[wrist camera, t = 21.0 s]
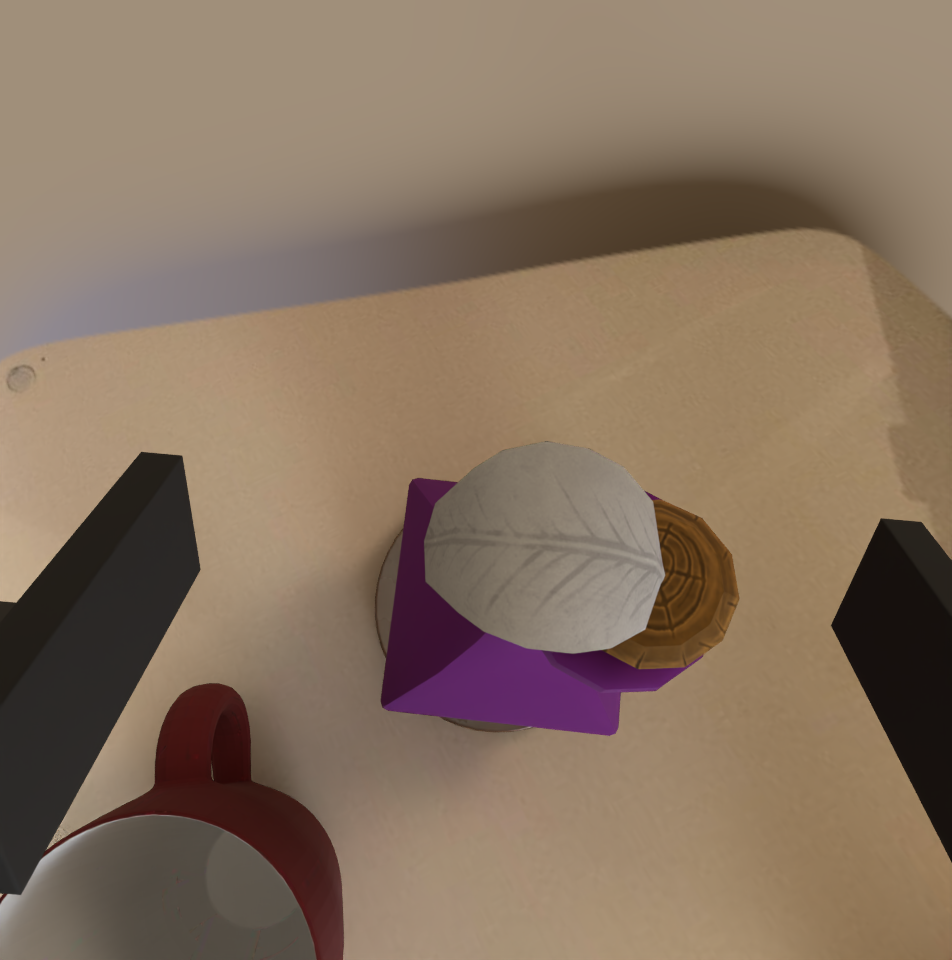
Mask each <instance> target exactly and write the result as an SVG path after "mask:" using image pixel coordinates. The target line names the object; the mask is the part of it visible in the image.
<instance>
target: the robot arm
mask: <svg viewBox="0 0 952 960" xmlns="http://www.w3.org/2000/svg"><path fill="white" fill-rule="evenodd" d="M200 570H201V569H200V563H199V557H198V551H197V544H196V538H195V532H194V526H193V519H192V513H191V507H190V501H189V495H188V488H187V482H186V476H185V470H184V463H183V457H182V456H180V455H169V454H158V453H147V452H141V453H140V454H139V455H138V456H137V458H136V459H135V460H134V461H133V463H132V464H131V465H130V466H129V467H128V469H127V470H126V471H125V472H124V473H123V475H122V476H121V477H120V478H119V479H118V481H117V482H116V483H115V484H114V485H113V487H112V488H111V489H110V490H109V492H108V493H107V494H106V495H105V496H104V498H103V499H102V500H101V501H100V502H99V504H98V505H97V506H96V507H95V508H94V510H93V511H92V512H91V513H90V514H89V516H88V517H87V518H86V519H85V521H84V522H83V523H82V524H81V525H80V527H79V528H78V529H77V530H76V531H75V533H74V534H73V535H72V536H71V537H70V539H69V540H68V541H67V542H66V543H65V545H64V546H63V547H62V548H61V550H60V551H59V552H58V553H57V554H56V556H55V557H54V558H53V559H52V560H51V562H50V563H49V564H48V565H47V566H46V568H45V569H44V570H43V571H42V572H41V574H40V575H39V576H38V577H37V579H36V580H35V581H34V582H33V583H32V585H31V586H30V587H29V588H28V589H27V591H26V592H25V593H24V594H23V595H22V597H21V598H20V599H19V600H18V601H17V603H13V602H1V601H0V893H2V894H14V895H21V894H22V892H23V891H24V889H25V887H26V885H27V883H28V882H29V880H30V878H31V876H32V874H33V872H34V871H35V869H36V867H37V865H38V863H39V862H40V860H41V858H42V856H43V854H44V853H45V851H46V849H47V847H48V845H49V843H50V842H51V840H52V838H53V836H54V834H55V833H56V831H57V829H58V827H59V825H60V824H61V822H62V820H63V818H64V816H65V814H66V813H67V811H68V809H69V807H70V805H71V804H72V802H73V800H74V798H75V796H76V795H77V793H78V791H79V789H80V787H81V785H82V784H83V782H84V780H85V778H86V776H87V775H88V773H89V771H90V769H91V767H92V766H93V764H94V762H95V760H96V758H97V756H98V755H99V753H100V751H101V749H102V747H103V746H104V744H105V742H106V740H107V738H108V736H109V735H110V733H111V731H112V729H113V727H114V726H115V724H116V722H117V720H118V718H119V717H120V715H121V713H122V711H123V709H124V707H125V706H126V704H127V702H128V700H129V698H130V697H131V695H132V693H133V691H134V689H135V688H136V686H137V684H138V682H139V680H140V678H141V677H142V675H143V673H144V671H145V669H146V668H147V666H148V664H149V662H150V660H151V659H152V657H153V655H154V653H155V651H156V649H157V648H158V646H159V644H160V642H161V640H162V639H163V637H164V635H165V633H166V631H167V630H168V628H169V626H170V624H171V622H172V620H173V619H174V617H175V615H176V613H177V611H178V610H179V608H180V606H181V604H182V602H183V600H184V599H185V597H186V595H187V593H188V591H189V590H190V588H191V586H192V584H193V582H194V581H195V579H196V577H197V575H198V573H199V571H200ZM831 626H832V628H833V630H834V632H835V634H836V636H837V638H838V640H839V642H840V644H841V646H842V648H843V650H844V652H845V654H846V656H847V658H848V660H849V662H850V664H851V666H852V668H853V670H854V672H855V674H856V676H857V677H858V679H859V681H860V683H861V685H862V687H863V689H864V691H865V693H866V695H867V697H868V699H869V701H870V703H871V705H872V707H873V709H874V711H875V713H876V715H877V717H878V719H879V721H880V723H881V725H882V727H883V728H884V730H885V732H886V734H887V736H888V738H889V740H890V742H891V744H892V746H893V748H894V750H895V752H896V754H897V756H898V758H899V760H900V762H901V764H902V766H903V768H904V770H905V772H906V774H907V776H908V778H909V779H910V781H911V783H912V785H913V787H914V789H915V791H916V793H917V795H918V797H919V799H920V801H921V803H922V805H923V807H924V809H925V811H926V813H927V815H928V817H929V819H930V821H931V823H932V825H933V827H934V829H935V831H936V832H937V834H938V836H939V838H940V840H941V842H942V844H943V846H944V848H945V850H946V852H947V854H948V856H949V858H950V860H951V862H952V560H951V559H950V558H949V557H948V555H947V554H946V553H945V551H944V550H943V549H942V548H941V546H940V545H939V544H938V543H937V541H936V540H935V539H934V537H933V536H932V535H931V534H930V532H929V531H928V530H927V529H926V527H925V526H924V525H923V523H922V522H915V521H904V520H893V519H880V522H879V524H878V526H877V528H876V530H875V532H874V534H873V537H872V539H871V541H870V543H869V545H868V547H867V549H866V552H865V554H864V556H863V558H862V560H861V562H860V564H859V567H858V569H857V571H856V573H855V575H854V577H853V579H852V582H851V584H850V586H849V588H848V590H847V592H846V594H845V597H844V599H843V601H842V603H841V605H840V607H839V609H838V612H837V614H836V616H835V618H834V620H833V622H832V624H831Z"/></svg>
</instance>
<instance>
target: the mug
mask: <svg viewBox="0 0 952 960" xmlns="http://www.w3.org/2000/svg"><path fill="white" fill-rule="evenodd" d="M211 761H212V768H213V778H214V781H213V779H212V775H211ZM343 949H344V929H343V902H342V883H341V874H340V869H339V864H338V860H337V856H336V853H335V850H334V848H333V845H332V843H331V840H330V839H329V837H328V835H327V833H326V831H325V830H324V828H323V827H322V825H321V824H320V822H319V821H318V820H317V819H316V818H315V816H314V815H313V814H312V813H311V812H310V811H309V810H308V809H307V808H306V807H304V806H303V805H302V804H300V803H299V802H298V801H296V800H295V799H293V798H292V797H290V796H288V795H286V794H284V793H282V792H280V791H277V790H275V789H272V788H269V787H266V786H263V785H260V784H257V783H254V782H253V781H252V780H251V739H250V726H249V720H248V715H247V711H246V707H245V704H244V702H243V700H242V698H241V696H240V695H239V694H238V693H237V692H236V691H235V690H234V689H233V688H232V687H229V686H226V685H222V684H219V683H209V684H203V685H198V686H194V687H192V688H190V689H188V690H186V691H185V692H183V693H182V694H180V696H179V697H178V698H177V699H176V701H175V702H174V703H173V705H172V706H171V707H170V709H169V711H168V713H167V715H166V717H165V720H164V722H163V725H162V727H161V731H160V735H159V738H158V744H157V749H156V759H155V784H154V787H153V788H152V789H151V790H150V791H149V792H147V793H145V794H144V795H142V796H140V797H138V798H137V799H135V800H132V801H130V802H128V803H126V804H124V805H122V806H120V807H119V808H117V809H115V810H113V811H111V812H109V813H107V814H105V815H103V816H101V817H99V818H98V819H96V820H94V821H92V822H90V823H89V824H87V825H85V826H83V827H82V828H80V829H78V830H76V831H74V832H73V833H71V834H69V835H68V836H66V837H65V838H63V839H61V840H60V841H58V842H57V843H55V844H54V845H53V846H51V847H50V848H49V849H48V850H46V851H45V853H44V854H43V856H42V858H41V860H40V862H39V863H38V865H37V867H36V869H35V871H34V872H33V874H32V876H31V878H30V880H29V882H28V883H27V885H26V887H25V889H24V891H23V892H22V894H21V895H14V894H3V895H2V897H1V898H0V960H343Z"/></svg>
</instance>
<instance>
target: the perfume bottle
mask: <svg viewBox="0 0 952 960" xmlns="http://www.w3.org/2000/svg"><path fill="white" fill-rule="evenodd" d="M738 601H739V594H738V588H737V582H736V576H735V570H734V565H733V559H732V554H731V553H730V552H729V550H728V549H727V548H726V547H725V545H724V544H723V543H722V542H721V541H720V539H719V538H718V537H717V536H716V535H715V533H714V532H713V531H712V530H711V528H710V527H709V526H708V525H707V524H706V522H705V521H704V520H703V519H702V518H700V517H698V516H696V515H694V514H692V513H689V512H687V511H685V510H683V509H681V508H678V507H676V506H674V505H672V504H670V503H667V502H665V501H663V500H661V499H659V498H657V497H655V496H653V495H652V494H650V493H648V492H646V491H644V490H643V489H642V488H641V487H640V486H639V484H638V483H637V482H636V481H635V480H634V478H633V477H632V476H631V475H630V474H629V472H628V471H627V470H626V469H625V468H624V467H623V466H621V465H620V464H618V463H616V462H614V461H612V460H610V459H608V458H606V457H604V456H602V455H601V454H599V453H597V452H595V451H593V450H591V449H589V448H583V447H577V446H572V445H566V444H560V443H554V442H549V441H545V442H540V443H536V444H531V445H526V446H521V447H516V448H511V449H506V450H502V451H501V452H499V453H498V454H496V455H494V456H493V457H491V458H489V459H488V460H486V461H485V462H483V463H481V464H480V465H478V466H477V467H475V468H474V469H472V470H471V471H470V472H469V473H468V474H467V475H466V476H465V477H464V478H463V479H461V480H460V481H459V482H450V481H441V480H432V479H423V478H416V479H413V480H412V481H411V483H410V484H409V490H408V498H407V505H406V513H405V520H404V528H403V536H402V543H401V551H400V558H399V566H398V573H397V581H396V589H395V596H394V604H393V611H392V619H391V626H390V634H389V641H388V649H387V657H386V664H385V672H384V679H383V687H382V694H381V704H382V707H383V708H384V709H386V710H388V711H396V712H405V713H414V714H423V715H431V716H440V717H449V718H458V719H467V720H476V721H484V722H493V723H502V724H511V725H520V726H529V727H537V728H546V729H555V730H564V731H573V732H582V733H590V734H599V735H608V736H610V735H613V734H615V733H616V731H617V729H618V724H619V709H620V694H621V692H641V691H656V690H657V689H659V688H660V687H662V686H663V685H664V684H666V683H667V682H669V681H670V680H671V679H673V678H674V677H676V676H677V675H678V674H680V673H681V672H683V671H684V670H685V669H687V668H688V667H690V666H691V665H692V664H694V663H695V662H697V661H698V660H699V659H701V658H702V657H703V655H704V653H706V652H707V651H709V650H710V649H711V648H713V647H714V646H716V645H717V644H718V643H720V642H721V641H722V640H723V638H724V636H725V633H726V631H727V628H728V626H729V623H730V621H731V618H732V616H733V613H734V611H735V609H736V606H737V604H738Z"/></svg>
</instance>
